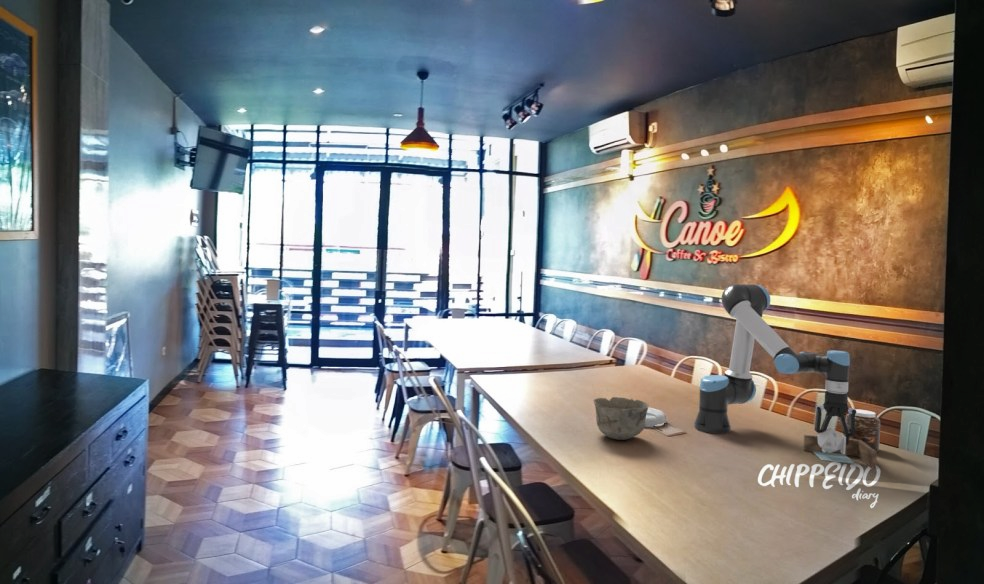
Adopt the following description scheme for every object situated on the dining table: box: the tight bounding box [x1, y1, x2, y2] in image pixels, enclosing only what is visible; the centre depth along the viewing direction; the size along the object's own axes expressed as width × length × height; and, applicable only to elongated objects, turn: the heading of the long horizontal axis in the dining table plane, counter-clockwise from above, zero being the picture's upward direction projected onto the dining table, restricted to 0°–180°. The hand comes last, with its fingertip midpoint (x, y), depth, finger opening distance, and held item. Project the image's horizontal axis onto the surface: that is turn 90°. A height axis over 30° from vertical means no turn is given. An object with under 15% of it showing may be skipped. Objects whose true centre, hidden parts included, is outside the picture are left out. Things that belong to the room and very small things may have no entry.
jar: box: [845, 408, 881, 453], centre depth 237 cm, size 12×12×15 cm
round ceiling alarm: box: [644, 406, 667, 428], centre depth 268 cm, size 25×25×6 cm
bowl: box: [593, 396, 650, 441], centre depth 240 cm, size 22×22×15 cm
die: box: [816, 427, 843, 454], centre depth 223 cm, size 8×9×10 cm
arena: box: [803, 434, 878, 469], centre depth 222 cm, size 20×16×6 cm
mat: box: [813, 451, 855, 465], centre depth 223 cm, size 11×11×1 cm
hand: (833, 452), depth 223 cm, fingers closed on die, 6 cm apart
